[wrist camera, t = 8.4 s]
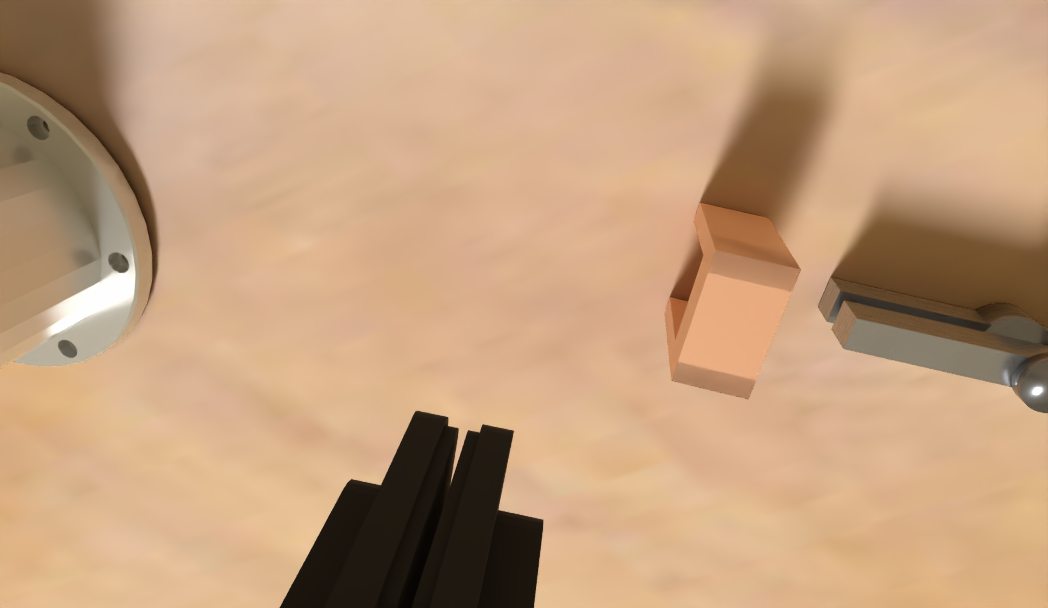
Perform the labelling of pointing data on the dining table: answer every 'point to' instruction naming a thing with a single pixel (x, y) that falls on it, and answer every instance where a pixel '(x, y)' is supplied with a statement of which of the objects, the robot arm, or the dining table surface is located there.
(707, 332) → the collar
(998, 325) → the tongs fixed arm
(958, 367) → the tongs hinged arm
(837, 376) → the dining table surface
